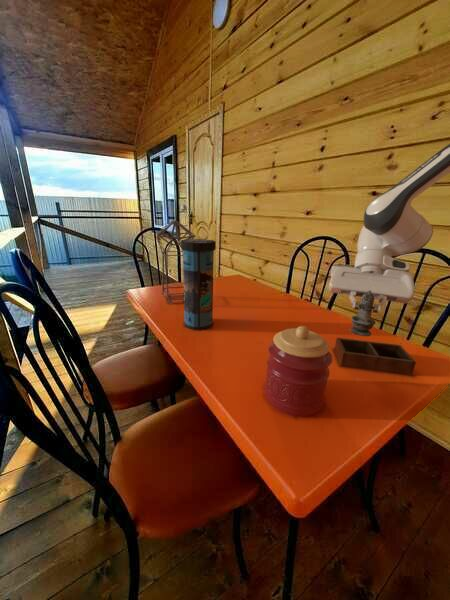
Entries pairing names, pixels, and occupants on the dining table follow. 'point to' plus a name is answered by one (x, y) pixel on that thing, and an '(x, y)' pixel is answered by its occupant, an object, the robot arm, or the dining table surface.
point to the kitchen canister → (297, 372)
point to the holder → (374, 356)
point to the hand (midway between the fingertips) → (365, 310)
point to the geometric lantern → (171, 255)
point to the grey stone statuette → (364, 316)
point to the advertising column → (198, 282)
